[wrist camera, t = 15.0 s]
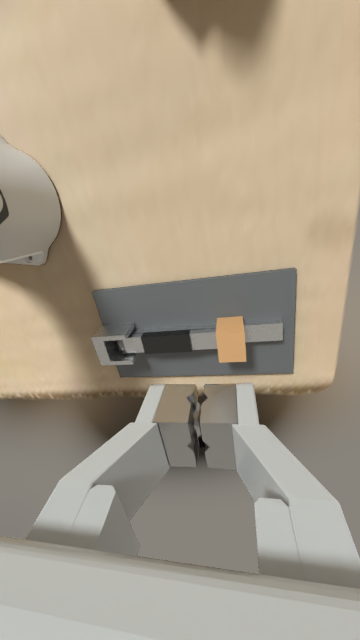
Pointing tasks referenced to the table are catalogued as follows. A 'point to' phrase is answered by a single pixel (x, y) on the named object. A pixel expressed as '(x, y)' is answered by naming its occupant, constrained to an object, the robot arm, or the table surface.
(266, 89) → the table surface
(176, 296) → the mat
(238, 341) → the light orange block
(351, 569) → the robot arm
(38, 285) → the table surface
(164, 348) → the tongs arm
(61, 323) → the table surface
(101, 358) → the grey long bar
